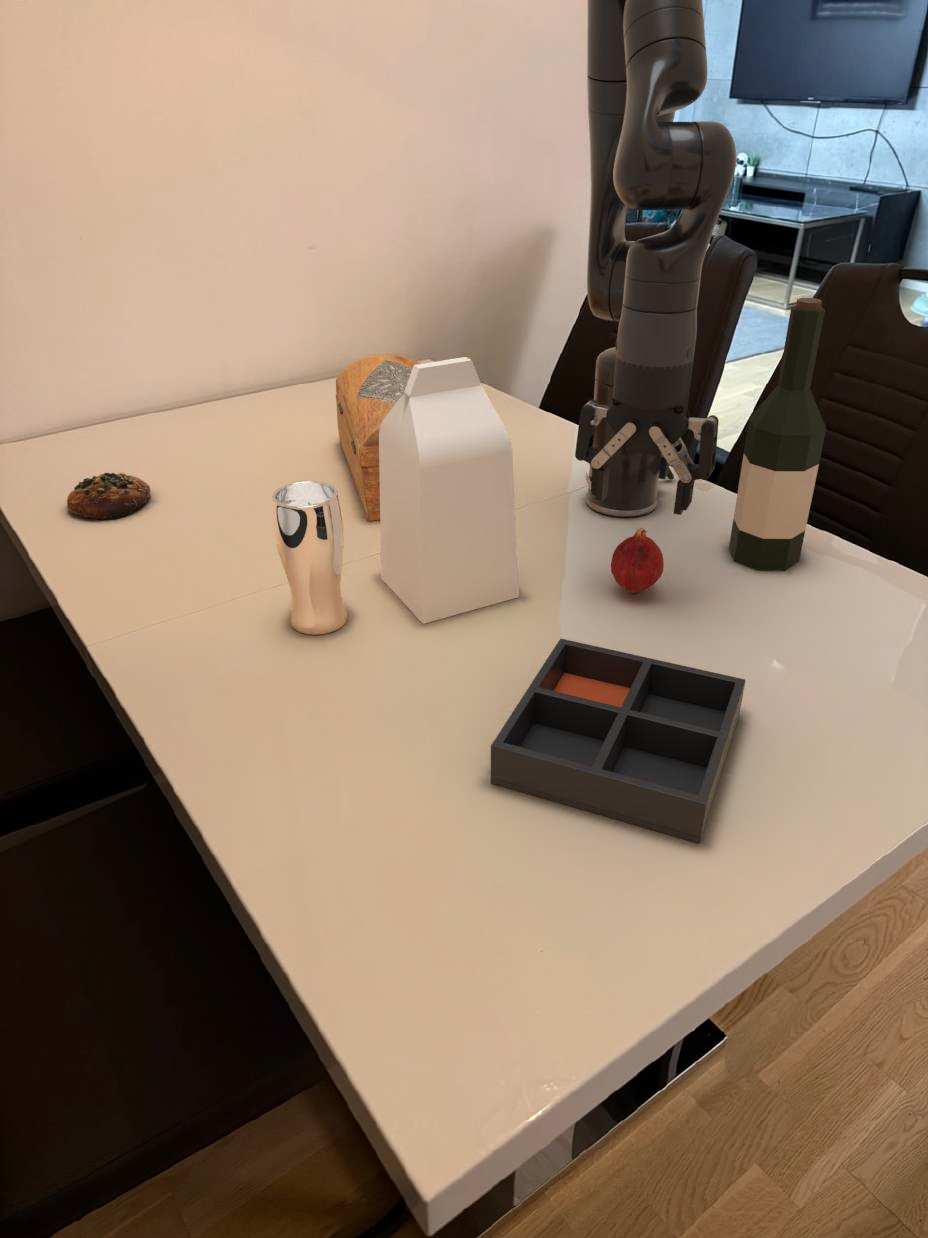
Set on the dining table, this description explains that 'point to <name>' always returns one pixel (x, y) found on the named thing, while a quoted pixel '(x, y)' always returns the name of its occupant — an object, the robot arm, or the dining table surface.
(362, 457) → the wooden box
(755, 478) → the wine bottle
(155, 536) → the dining table surface
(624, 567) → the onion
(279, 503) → the beer glass
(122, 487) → the bread roll
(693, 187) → the robot arm
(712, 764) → the compartment tray
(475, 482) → the milk
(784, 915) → the dining table surface
